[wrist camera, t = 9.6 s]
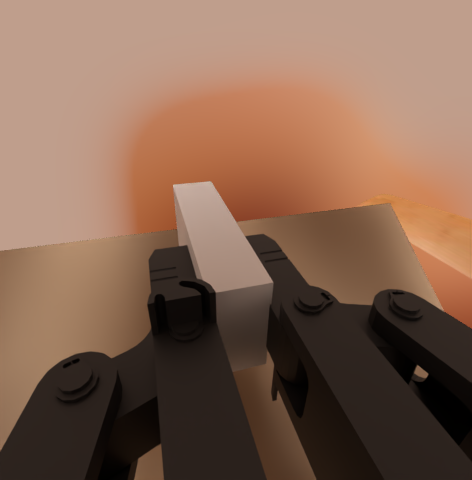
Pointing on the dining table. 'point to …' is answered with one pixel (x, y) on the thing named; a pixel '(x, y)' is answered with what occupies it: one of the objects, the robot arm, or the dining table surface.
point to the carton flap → (138, 322)
